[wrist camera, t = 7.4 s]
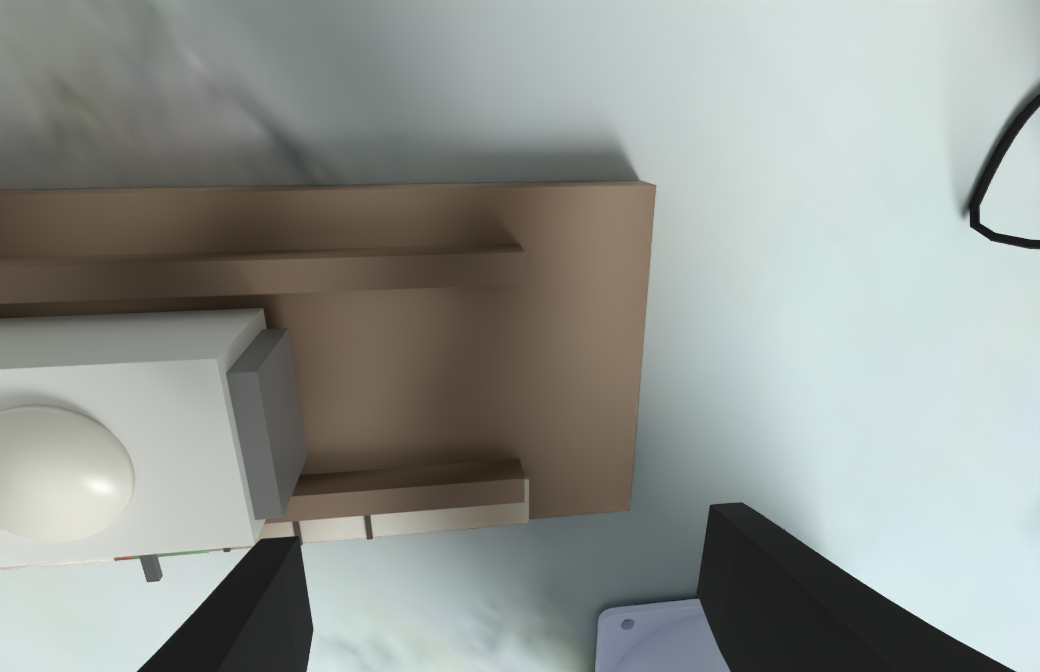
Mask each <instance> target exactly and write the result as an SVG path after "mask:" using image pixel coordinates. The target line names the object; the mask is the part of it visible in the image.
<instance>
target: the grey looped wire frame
mask: <svg viewBox="0 0 1040 672" xmlns="http://www.w3.org/2000/svg"><path fill="white" fill-rule="evenodd" d="M1039 107H1040V94H1039V95H1038V96H1037V97H1036V98H1035V99H1033V100H1032V101H1031V102H1030V103H1029V104H1028V106H1027V107H1026V108H1025V109H1024V110H1023V111H1022V113H1021V114H1020V115H1019V116H1018V117H1017V119H1016V120H1015V122H1014V123H1013V124H1012V126H1011V127H1010V129H1009V130H1008V131H1007V133H1006V134H1005V136H1004V138H1003V139H1002V141H1001V143H1000V144H999V146H998V148H997V150H996V151H995V153H994V155H993V157H992V159H991V161H990V163H989V165H988V166H987V168H986V170H985V172H984V174H983V176H982V178H981V181H980V183H979V185H978V187H977V190H976V192H975V194H974V196H973V199H972V201H971V203H970V205H969V209H970V227H972V228H973V229H975V230H976V231H978V232H979V233H980V234H982V235H983V236H985V237H986V238H988V239H989V240H991V241H994V242H999V243H1004V244H1009V245H1013V246H1018V247H1023V248H1028V249H1040V240H1030V239H1025V238H1019V237H1014V236H1009V235H1004V234H998V233H995V232H993V231H992V230H990V229H988V228H987V227H985V226H984V225H982V224H980V204H981V202H982V200H983V198H984V195H985V193H986V191H987V189H988V187H989V184H990V182H991V180H992V178H993V176H994V174H995V172H996V170H997V168H998V167H999V165H1000V163H1001V161H1002V159H1003V157H1004V155H1005V153H1006V152H1007V150H1008V148H1009V147H1010V145H1011V143H1012V142H1013V140H1014V139H1015V137H1016V135H1017V134H1018V133H1019V131H1020V130H1021V128H1022V127H1023V126H1024V124H1025V123H1026V121H1027V120H1028V119H1029V118H1030V117H1031V116H1032V114H1033V113H1034V112H1035V111H1036V110H1037V109H1038V108H1039Z"/></svg>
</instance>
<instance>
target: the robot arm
mask: <svg viewBox="0 0 1040 672" xmlns="http://www.w3.org/2000/svg"><path fill="white" fill-rule="evenodd" d="M697 595H698V597H699V599H690V600H680V601H671V602H662V603H652V604H643V605H634V606H624V607H615V608H609V609H607V610H605V611H603V612H602V613H601V615H600V616H599V619H598V632H597V648H596V664H595V672H1016V671H1014V670H1012V669H1010V668H1008V667H1006V666H1004V665H1003V664H1001V663H999V662H997V661H995V660H993V659H991V658H990V657H988V656H986V655H984V654H982V653H980V652H978V651H976V650H975V649H973V648H971V647H969V646H967V645H965V644H963V643H962V642H960V641H958V640H956V639H954V638H953V637H951V636H949V635H947V634H946V633H944V632H942V631H940V630H939V629H937V628H935V627H933V626H932V625H930V624H928V623H927V622H925V621H923V620H922V619H920V618H918V617H917V616H915V615H914V614H912V613H910V612H909V611H907V610H905V609H904V608H902V607H900V606H899V605H897V604H895V603H894V602H892V601H890V600H889V599H887V598H886V597H884V596H882V595H881V594H879V593H878V592H876V591H875V590H873V589H872V588H870V587H868V586H867V585H865V584H864V583H862V582H861V581H859V580H858V579H856V578H854V577H853V576H851V575H850V574H848V573H847V572H845V571H844V570H842V569H841V568H839V567H838V566H836V565H835V564H833V563H832V562H830V561H829V560H827V559H826V558H824V557H823V556H822V555H820V554H819V553H817V552H816V551H814V550H813V549H811V548H810V547H808V546H807V545H805V544H804V543H802V542H801V541H800V540H798V539H797V538H795V537H794V536H792V535H791V534H789V533H788V532H786V531H785V530H784V529H782V528H781V527H779V526H778V525H776V524H775V523H773V522H772V521H770V520H769V519H767V518H766V517H764V516H763V515H761V514H760V513H758V512H757V511H755V510H754V509H752V508H750V507H749V506H747V505H745V504H744V503H742V502H739V503H726V504H713V505H710V509H709V515H708V522H707V528H706V535H705V542H704V548H703V555H702V561H701V568H700V575H699V581H698V588H697ZM627 619H628V620H627ZM624 620H627V621H624ZM312 635H313V623H312V617H311V610H310V604H309V597H308V591H307V584H306V578H305V571H304V565H303V558H302V552H301V546H300V539H299V536H290V537H277V538H263V539H260V540H259V541H258V542H257V543H256V544H255V545H254V546H253V547H252V548H251V550H250V551H249V552H248V553H247V554H246V555H245V556H244V557H243V558H242V559H241V561H240V562H239V563H238V564H237V565H236V566H235V567H234V568H233V570H232V571H231V572H230V573H229V574H228V575H227V576H226V577H225V579H224V580H223V581H222V582H221V583H220V584H219V585H218V586H217V587H216V589H215V590H214V591H213V592H212V593H211V594H210V595H209V596H208V597H207V599H206V600H205V601H204V602H203V603H202V604H201V605H200V606H199V607H198V608H197V610H196V611H195V612H194V613H193V614H192V615H191V616H190V617H189V618H188V619H187V620H186V621H185V622H184V623H183V624H182V625H181V627H180V628H179V629H178V630H177V631H176V632H175V633H174V634H173V635H172V636H171V637H170V638H169V639H168V640H167V641H166V643H165V644H164V645H163V646H162V647H161V648H160V649H159V650H158V651H157V652H156V653H155V654H154V655H153V656H152V657H151V658H150V659H149V660H148V661H147V662H146V663H145V664H144V665H143V666H142V667H141V668H140V669H139V670H138V671H137V672H306V671H307V666H308V660H309V653H310V647H311V641H312Z"/></svg>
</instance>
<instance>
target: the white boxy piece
mask: <svg viewBox="0 0 1040 672" xmlns="http://www.w3.org/2000/svg"><path fill="white" fill-rule="evenodd" d="M307 455H308V454H307V447H306V441H305V434H304V428H303V421H302V415H301V408H300V402H299V395H298V389H297V382H296V376H295V369H294V363H293V356H292V350H291V343H290V337H289V330H288V328H282V329H267V328H266V322H265V316H264V310H263V308H249V309H224V310H198V311H173V312H148V313H122V314H97V315H71V316H46V317H20V318H0V568H1V567H13V566H24V565H36V564H47V563H59V562H70V561H82V560H93V559H105V558H116V557H128V556H139V557H140V560H141V563H142V567H143V570H144V574H145V577H146V580H147V582H155V581H160V579H161V578H162V576H163V575H162V571H161V568H160V564H159V561H158V557H157V554H162V553H174V552H185V551H197V550H208V549H220V548H231V547H243V546H254V545H255V543H256V541H257V539H258V536H259V534H260V532H261V529H262V527H263V525H264V522H265V520H266V519H274V518H283V517H284V514H285V512H286V509H287V507H288V504H289V501H290V499H291V496H292V494H293V491H294V489H295V486H296V483H297V481H298V478H299V476H300V473H301V471H302V468H303V466H304V463H305V460H306V458H307Z"/></svg>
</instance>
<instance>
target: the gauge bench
mask: <svg viewBox="0 0 1040 672" xmlns="http://www.w3.org/2000/svg"><path fill="white" fill-rule="evenodd" d="M655 193H656V185H653V184H650V183H647V182H644V181H576V182H508V183H440V184H373V185H305V186H237V187H169V188H101V189H33V190H0V318H20V317H46V316H71V315H97V314H122V313H148V312H173V311H198V310H224V309H249V308H263V310H264V316H265V322H266V328H267V329H282V328H288V330H289V337H290V343H291V350H292V356H293V363H294V369H295V376H296V382H297V389H298V395H299V402H300V408H301V415H302V421H303V428H304V434H305V441H306V447H307V454H308V455H307V458H306V460H305V463H304V466H303V468H302V471H301V473H300V476H299V478H298V481H297V483H296V486H295V489H294V491H293V494H292V496H291V499H290V501H289V504H288V507H287V509H286V512H285V514H284V517H283V518H274V519H266V520H265V522H264V525H263V527H262V529H261V532H260V534H259V536H258V539H257V541H256V543H257V542H258V541H259V540H260V539H263V538H277V537H290V536H299V539H300V545H302V544H303V543H312V542H323V541H335V540H346V539H358V538H367V539H373V537H381V536H392V535H403V534H415V533H426V532H438V531H449V530H461V529H472V528H483V527H495V526H506V525H518V524H529V519H537V518H549V517H560V516H572V515H583V514H595V513H606V512H618V511H629V510H630V500H631V488H632V476H633V463H634V451H635V439H636V426H637V414H638V402H639V390H640V377H641V365H642V353H643V340H644V328H645V316H646V303H647V291H648V279H649V266H650V254H651V242H652V229H653V217H654V205H655ZM256 543H255V544H256ZM252 547H253V546H243V547H231V548H220V549H208V550H197V551H185V552H174V553H162V554H157V557H163V556H174V555H185V554H197V553H208V552H209V551H220V550H224V552H230V550H232V549H243V548H252ZM128 559H140V557H139V556H128V557H116V558H105V559H93V560H82V561H70V562H59V563H47V564H36V565H24V566H13V567H1V568H0V570H3V569H15V568H26V567H37V566H49V565H60V564H72V563H83V562H95V561H106V560H115V561H117V560H128Z"/></svg>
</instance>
